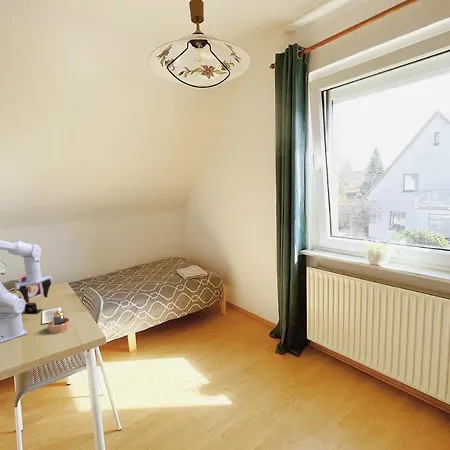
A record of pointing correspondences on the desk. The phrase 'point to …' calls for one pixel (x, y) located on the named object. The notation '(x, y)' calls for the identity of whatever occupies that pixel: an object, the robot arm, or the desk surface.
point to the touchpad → (49, 315)
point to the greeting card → (31, 288)
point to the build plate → (31, 309)
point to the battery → (58, 318)
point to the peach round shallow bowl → (59, 326)
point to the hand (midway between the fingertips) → (36, 299)
